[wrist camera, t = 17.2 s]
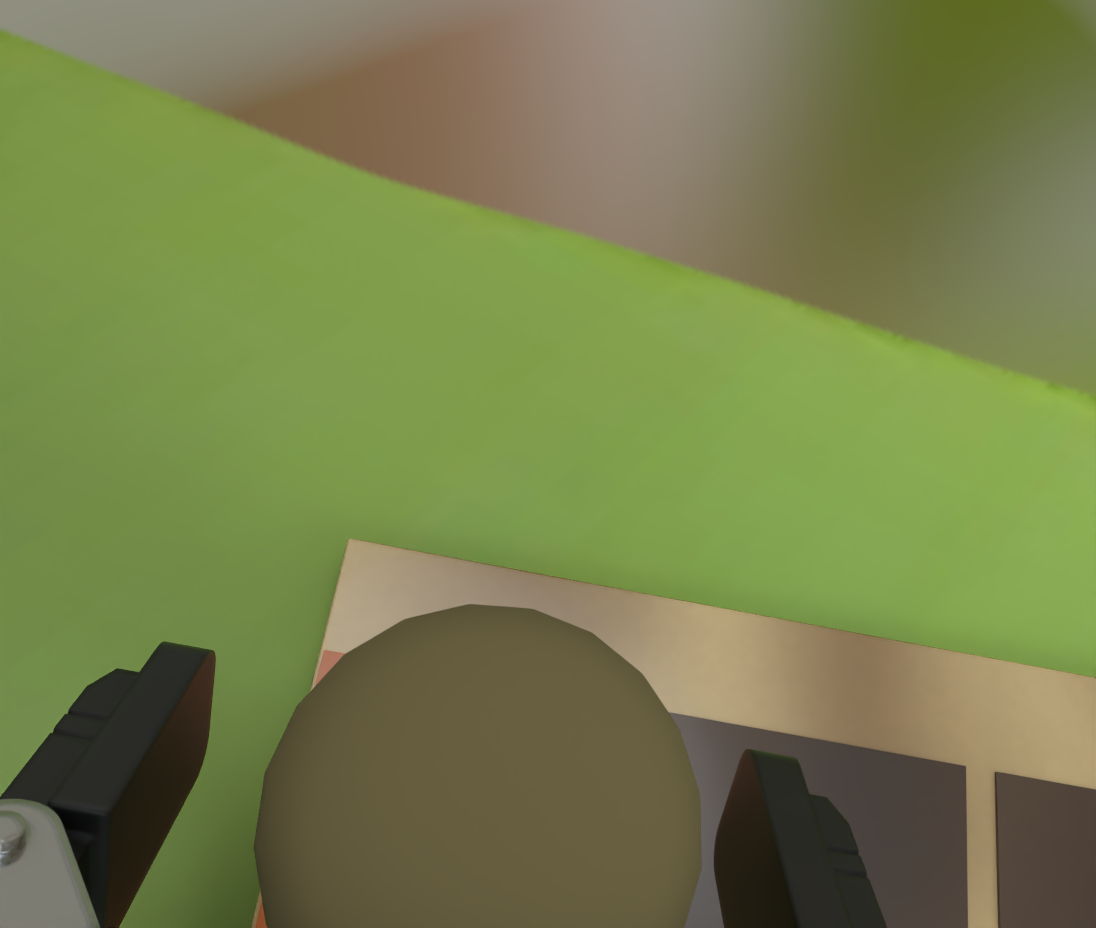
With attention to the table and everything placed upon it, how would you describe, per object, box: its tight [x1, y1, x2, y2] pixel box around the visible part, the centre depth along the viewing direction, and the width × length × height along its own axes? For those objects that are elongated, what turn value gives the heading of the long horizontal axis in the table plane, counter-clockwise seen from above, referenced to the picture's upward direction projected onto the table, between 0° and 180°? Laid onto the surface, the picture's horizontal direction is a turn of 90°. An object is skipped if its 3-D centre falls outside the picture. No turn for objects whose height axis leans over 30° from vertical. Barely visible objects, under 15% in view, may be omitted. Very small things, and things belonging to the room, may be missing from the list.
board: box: [251, 539, 1096, 928], centre depth 22 cm, size 22×12×1 cm, turn 81°
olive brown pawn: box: [254, 604, 702, 928], centre depth 16 cm, size 6×6×11 cm
